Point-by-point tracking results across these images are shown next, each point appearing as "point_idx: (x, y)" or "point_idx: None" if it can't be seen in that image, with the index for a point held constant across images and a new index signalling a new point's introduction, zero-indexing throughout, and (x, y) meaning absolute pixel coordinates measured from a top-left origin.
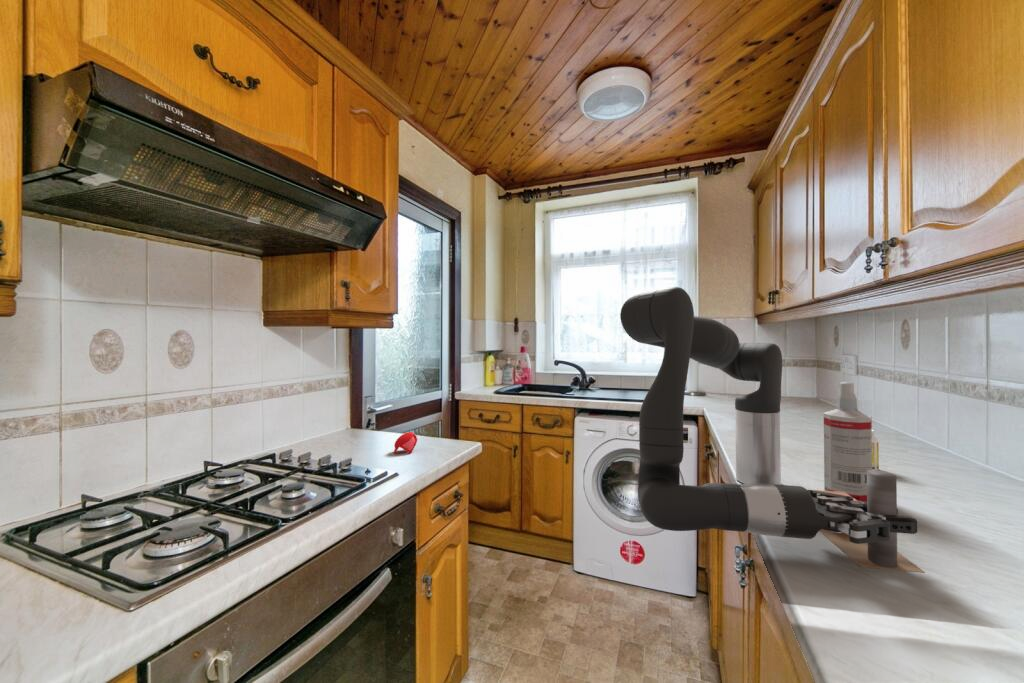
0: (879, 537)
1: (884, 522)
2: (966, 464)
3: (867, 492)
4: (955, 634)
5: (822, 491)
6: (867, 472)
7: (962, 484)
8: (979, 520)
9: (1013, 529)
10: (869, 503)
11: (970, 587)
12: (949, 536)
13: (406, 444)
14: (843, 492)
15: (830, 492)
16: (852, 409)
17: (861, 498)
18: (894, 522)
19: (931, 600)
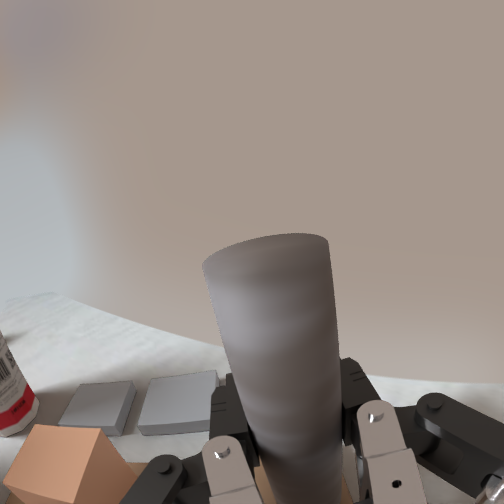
0: (458, 449)
1: (450, 403)
2: (21, 300)
3: (273, 387)
4: None
5: (16, 466)
6: (253, 276)
7: (41, 313)
8: (103, 331)
9: (126, 320)
10: (305, 419)
11: None
12: (135, 367)
13: None
14: (37, 427)
15: (27, 453)
16: None
17: (26, 398)
18: (376, 395)
19: None
